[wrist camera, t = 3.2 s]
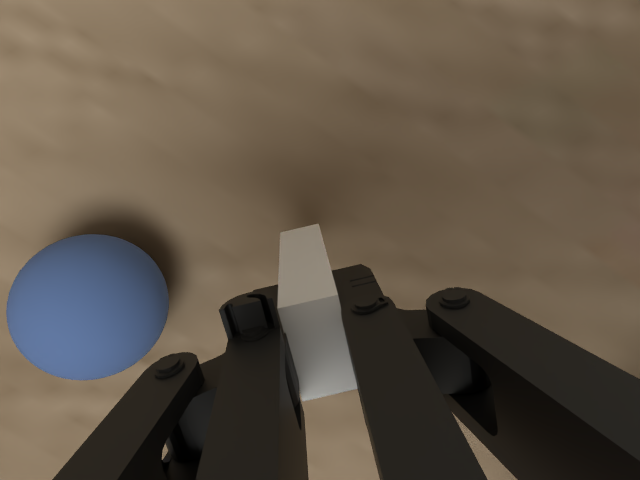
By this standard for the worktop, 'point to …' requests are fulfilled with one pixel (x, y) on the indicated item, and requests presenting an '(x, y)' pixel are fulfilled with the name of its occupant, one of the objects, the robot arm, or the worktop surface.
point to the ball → (87, 307)
